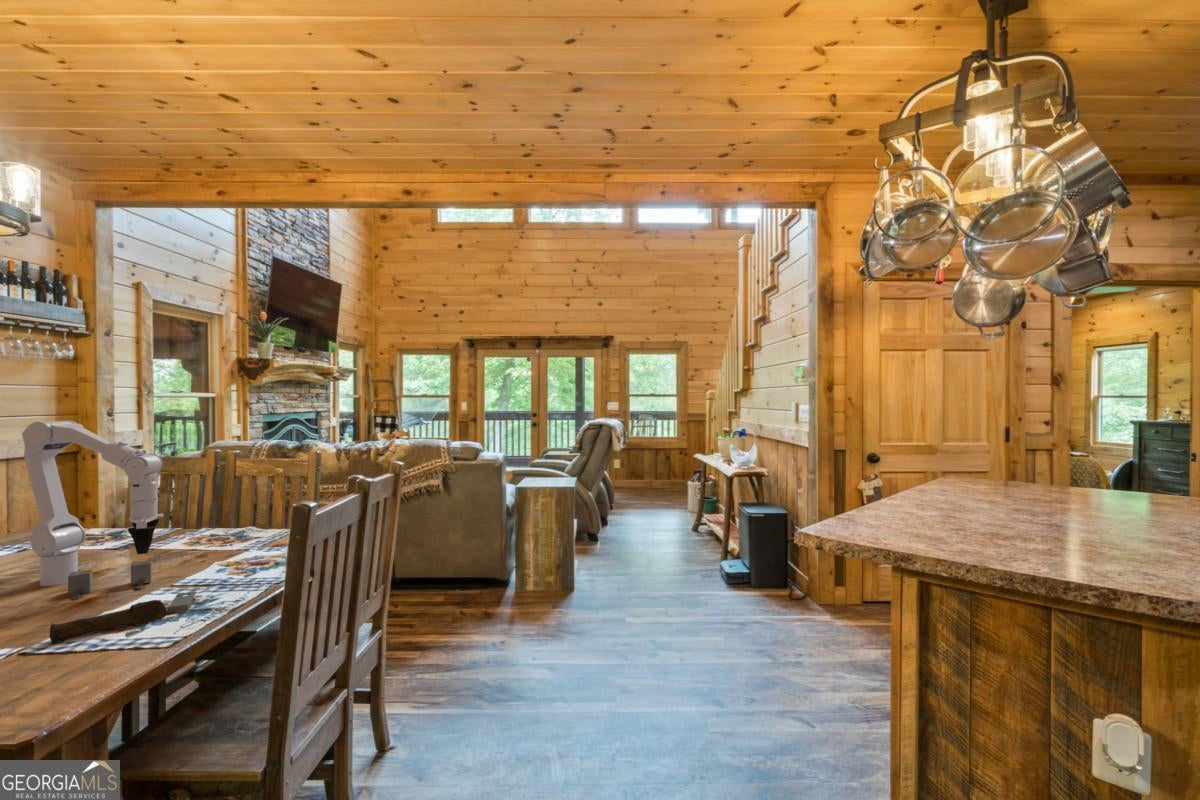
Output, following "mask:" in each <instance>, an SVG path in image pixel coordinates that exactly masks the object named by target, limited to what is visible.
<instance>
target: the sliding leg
mask: <svg viewBox="0 0 1200 800" xmlns="http://www.w3.org/2000/svg"><path fill="white" fill-rule="evenodd" d="M152 564H153V560H152V559H149V560H148V559H147V560H141V561H140V560H139V561H134V562H132V563H131V565H130V586H135V585H137V586H136V588H137V589H136V590H140V589H141V590H142V589H143V585H144V584H147V583H148V584H149V583H151V582H152V580H153V579H152V578H153V575H152V574H153V573H152V571H153V568H152V567H153V565H152Z"/></svg>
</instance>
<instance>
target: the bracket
mask: <svg viewBox="0 0 1200 800" xmlns="http://www.w3.org/2000/svg"><path fill="white" fill-rule="evenodd" d="M196 594H197V590H195V591H189V592H186V593H185V592H180V593H179V592H178V593H177V595H176V596H175V597H174V598H173V600H172V601H171V603H170V604H169V606H168V607H167V614H168V613H170V614H173V613H172V612H177V613H181V612H180V611H184V612H187V611H186V610H188V611H189V610H190V609H189V608H191V606H192V605H193V604H194V602H195V601H196V599H197V598H196V597H195V596H196ZM195 598H196V599H195Z"/></svg>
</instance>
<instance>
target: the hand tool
mask: <svg viewBox="0 0 1200 800" xmlns="http://www.w3.org/2000/svg"><path fill="white" fill-rule="evenodd" d="M166 616H167V608H166V606H165V605H164V603H163V602H162V601H160V600H158V599H153V600H152V599H151V600H149V601H142V602H138V603H135V604H131V605H130V607H129V608H127V609H123V610H118V611H115V612H114V611H113V612H110V613H105V614H101V615H97V616H91V617H88V618H87V617H85V618H79V619H76V620H72V621H67V622H63V623H57V624H54V623H52V624H51V625H50V629H49V639H50V640H49V641H50V643H51V645H54V644H56V643H58V642H65V641H66V640H68V639H71V638H72V639H73V638H77V637H80V636H84V635H87V634H92V633H97V632H103V631H106V630H110V629H113V628H119V627H122V626H129V625H132V626H138V625H137V624H140V625H142V624H141V623H143V624H147V623H150V622H153V620H154V621H156V620H155V619H157V620H159V619H161V618H164V617H166ZM158 618H159V619H158ZM149 621H150V622H149ZM146 622H147V623H146Z"/></svg>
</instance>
